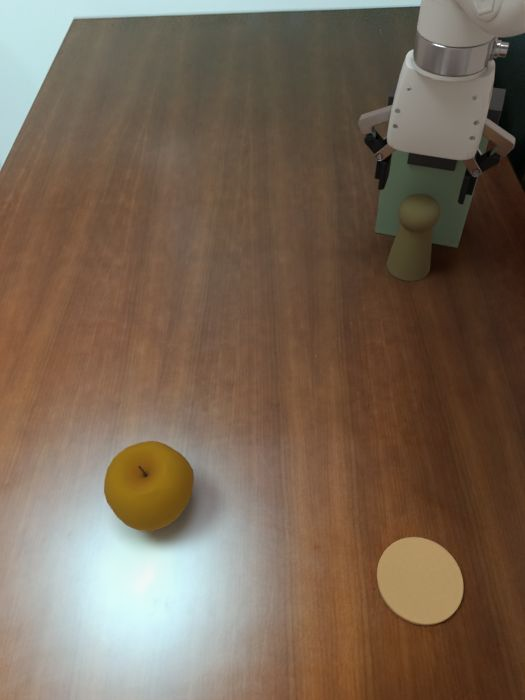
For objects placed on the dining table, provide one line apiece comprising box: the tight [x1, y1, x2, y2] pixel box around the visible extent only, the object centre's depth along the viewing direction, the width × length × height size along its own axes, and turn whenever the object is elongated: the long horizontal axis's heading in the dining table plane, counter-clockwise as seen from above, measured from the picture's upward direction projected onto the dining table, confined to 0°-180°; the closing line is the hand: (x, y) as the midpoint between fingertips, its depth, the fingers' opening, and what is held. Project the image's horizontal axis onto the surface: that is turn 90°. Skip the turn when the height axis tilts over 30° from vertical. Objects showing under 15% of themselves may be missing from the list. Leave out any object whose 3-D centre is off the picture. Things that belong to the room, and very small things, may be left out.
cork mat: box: [376, 536, 465, 627], centre depth 55 cm, size 8×8×1 cm
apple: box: [103, 440, 195, 532], centre depth 58 cm, size 9×8×9 cm
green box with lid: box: [374, 75, 507, 249], centre depth 77 cm, size 13×6×21 cm, turn 70°
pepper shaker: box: [385, 194, 440, 282], centre depth 77 cm, size 6×6×11 cm
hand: (421, 190), depth 72 cm, fingers open, 9 cm apart
